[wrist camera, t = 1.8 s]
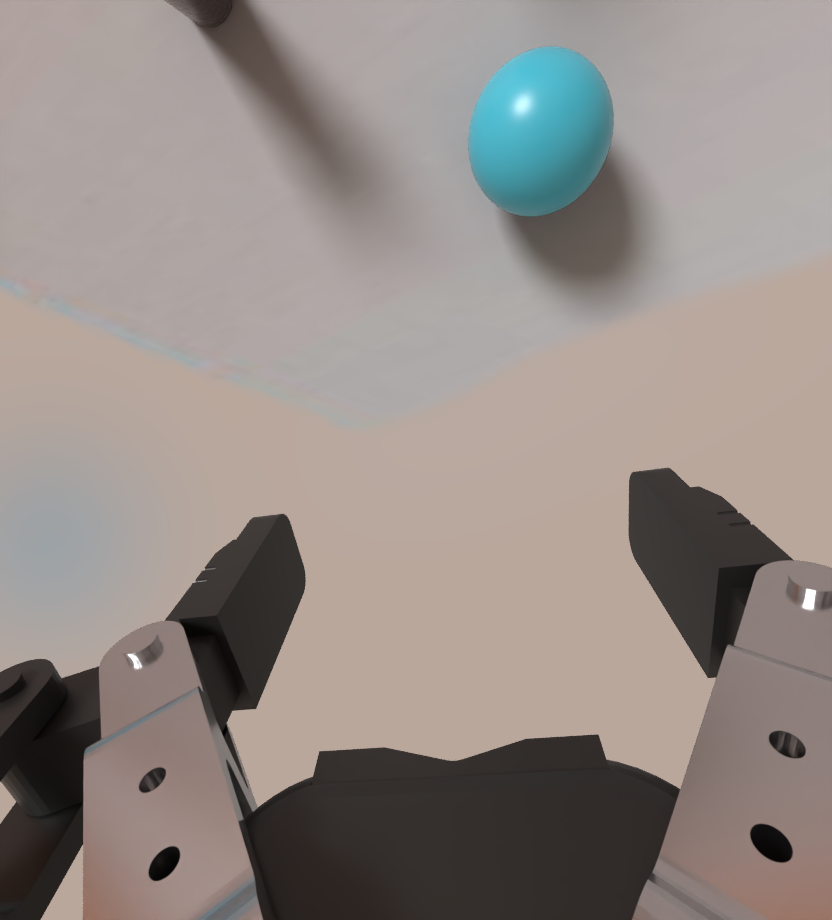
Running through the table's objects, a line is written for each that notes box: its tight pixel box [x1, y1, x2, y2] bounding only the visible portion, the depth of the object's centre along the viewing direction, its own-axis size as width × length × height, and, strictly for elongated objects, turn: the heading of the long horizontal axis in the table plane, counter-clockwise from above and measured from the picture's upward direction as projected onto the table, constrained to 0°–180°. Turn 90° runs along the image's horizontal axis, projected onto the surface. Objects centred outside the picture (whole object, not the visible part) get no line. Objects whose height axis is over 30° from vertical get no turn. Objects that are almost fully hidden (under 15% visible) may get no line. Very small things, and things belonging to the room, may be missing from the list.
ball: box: [468, 46, 614, 217], centre depth 21 cm, size 6×6×6 cm
